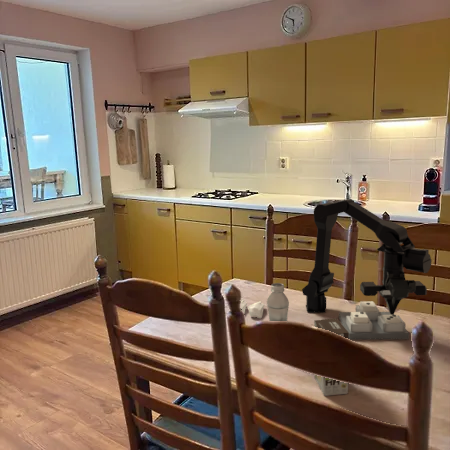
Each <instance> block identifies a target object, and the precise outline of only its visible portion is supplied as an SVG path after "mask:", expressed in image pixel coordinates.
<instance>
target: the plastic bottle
mask: <svg viewBox="0 0 450 450" xmlns="http://www.w3.org/2000/svg"><path fill="white" fill-rule="evenodd" d="M270 287H271V289H270V292H271V293H270V294H269V296H268V297H267V298H266V307H267V312H268V322H269V321H287V322H288V317H289V316H288V313H289V306H290V301H289V299H288V297H287V295H286V294H285V293H284V292H285V285H284V283H280V282H275V283H272V284H271V285H270Z"/></svg>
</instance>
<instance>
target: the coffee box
mask: <svg viewBox="0 0 450 450" xmlns="http://www.w3.org/2000/svg"><path fill="white" fill-rule="evenodd" d="M338 319H339V318H324V319H316V320H314V321H313V327H314V326H315V327H318V328H322V329H325V330H329V331H331V332H334V333H336V334H338V335H341V336H343V337H345V338H348V339H349V332H348V331H347V330H346V329H345V328H344V326H343V325H342V323H341V321H340V320H338ZM313 377H314V379H315V381H316V384H317V385H318V387H319V389H320V390H321V392H322V394H323V396H325V397H328V396H335V395H336V396H337V395H347V394H348V393H349V382H348V383H344V382H340V381H336V380H333V379H329V378H325V377H321V376H317V375H315V374H314V375H313Z"/></svg>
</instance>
